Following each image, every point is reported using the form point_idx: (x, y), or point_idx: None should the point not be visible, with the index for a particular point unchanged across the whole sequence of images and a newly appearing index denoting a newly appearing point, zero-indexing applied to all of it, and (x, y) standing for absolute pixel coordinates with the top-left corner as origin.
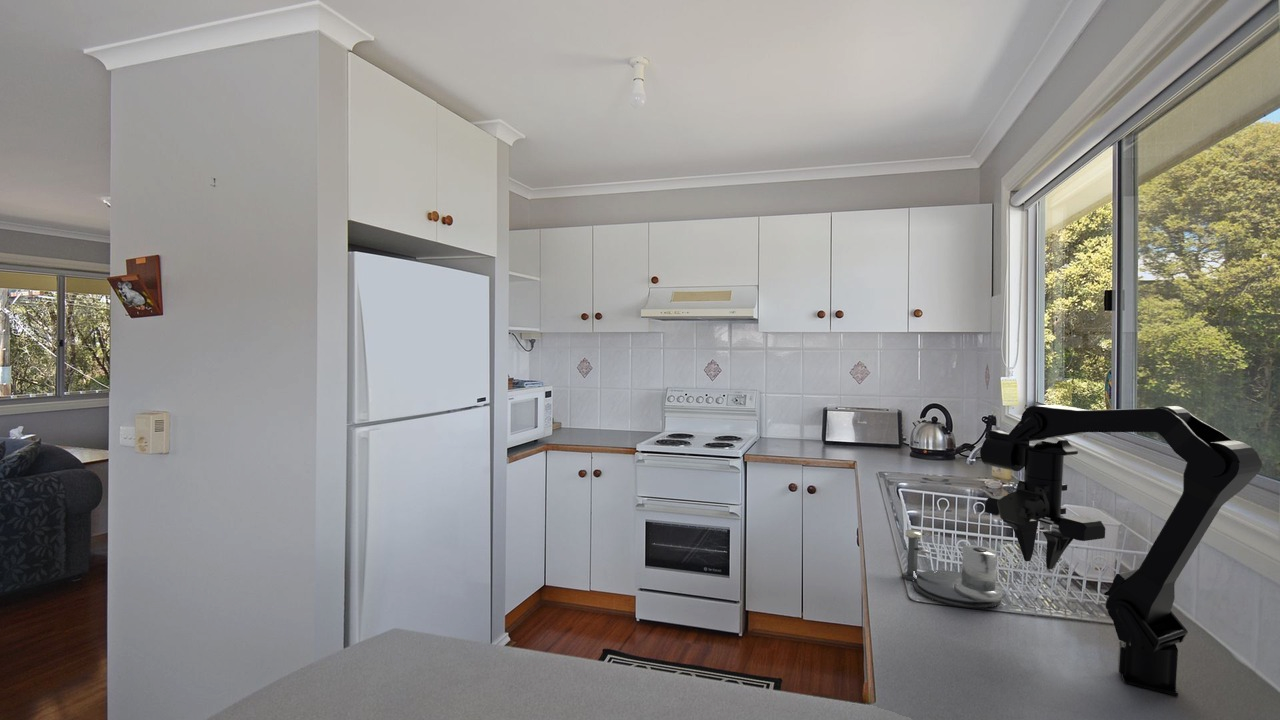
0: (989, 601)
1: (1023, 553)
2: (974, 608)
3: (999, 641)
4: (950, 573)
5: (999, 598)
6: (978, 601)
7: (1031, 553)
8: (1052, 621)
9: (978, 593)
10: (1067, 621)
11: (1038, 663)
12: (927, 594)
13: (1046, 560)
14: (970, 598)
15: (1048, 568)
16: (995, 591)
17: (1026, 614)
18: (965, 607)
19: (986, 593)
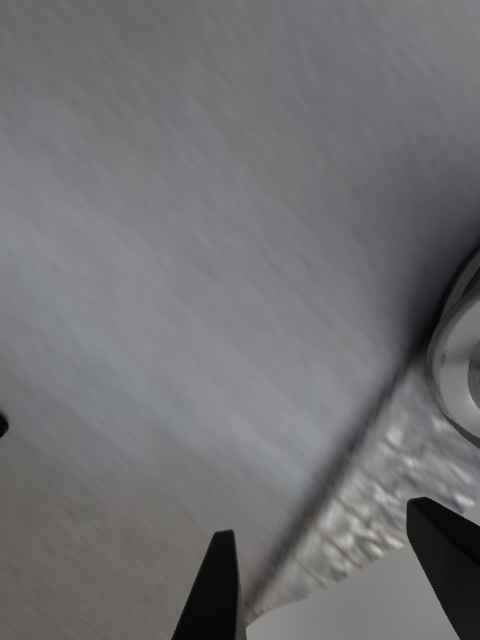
0: (432, 338)
1: (471, 532)
2: (443, 297)
3: (227, 183)
4: None
5: (431, 384)
6: None
7: (445, 599)
8: (301, 469)
9: (473, 310)
10: (290, 510)
11: (63, 182)
12: None
13: (229, 585)
14: (475, 289)
15: (216, 535)
16: (460, 388)
17: (361, 433)
18: (458, 270)
19: (459, 338)
